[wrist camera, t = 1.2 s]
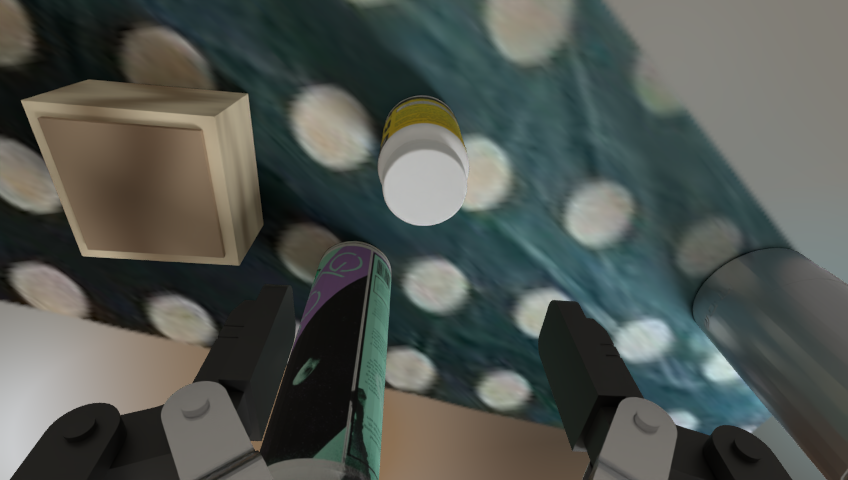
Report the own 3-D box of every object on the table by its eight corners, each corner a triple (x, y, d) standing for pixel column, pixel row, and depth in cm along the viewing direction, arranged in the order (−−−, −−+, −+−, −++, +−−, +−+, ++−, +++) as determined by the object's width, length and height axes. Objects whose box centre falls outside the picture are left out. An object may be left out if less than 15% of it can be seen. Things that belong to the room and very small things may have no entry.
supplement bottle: (377, 99, 25) (365, 145, 18) (455, 89, 25) (473, 132, 18) (390, 172, 28) (383, 238, 21) (460, 164, 28) (478, 227, 21)
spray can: (336, 228, 30) (241, 551, 13) (404, 258, 32) (397, 582, 15) (308, 282, 33) (198, 613, 16) (372, 308, 34) (335, 634, 17)
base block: (247, 93, 25) (212, 118, 21) (263, 224, 30) (237, 268, 25) (88, 79, 24) (15, 102, 20) (130, 215, 29) (79, 259, 25)
